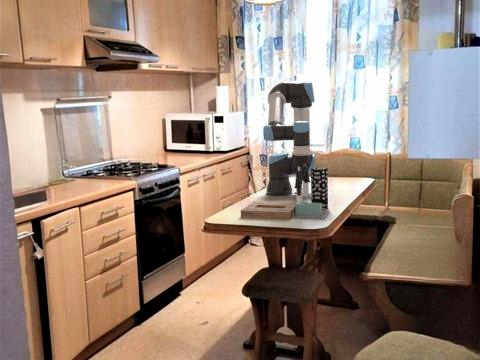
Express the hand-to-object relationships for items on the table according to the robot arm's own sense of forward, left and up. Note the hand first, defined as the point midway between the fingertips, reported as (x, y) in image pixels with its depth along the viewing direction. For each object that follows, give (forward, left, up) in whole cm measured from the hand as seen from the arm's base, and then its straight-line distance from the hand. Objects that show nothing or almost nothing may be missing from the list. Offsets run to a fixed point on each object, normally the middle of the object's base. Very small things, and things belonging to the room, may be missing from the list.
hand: (302, 199), depth 244 cm
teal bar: (0, +3, -7) cm, 8 cm away
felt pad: (0, +4, -8) cm, 9 cm away
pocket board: (0, -16, -8) cm, 18 cm away
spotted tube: (-16, +5, -8) cm, 19 cm away
